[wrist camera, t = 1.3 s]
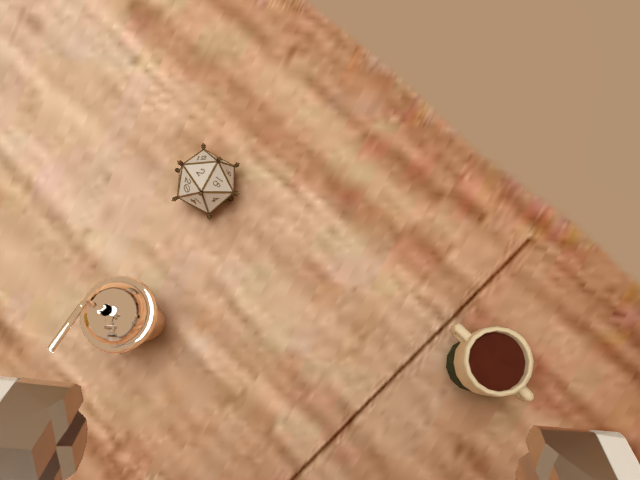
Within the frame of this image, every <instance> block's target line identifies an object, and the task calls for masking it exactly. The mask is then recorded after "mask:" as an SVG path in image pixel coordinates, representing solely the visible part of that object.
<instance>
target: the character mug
mask: <svg viewBox="0 0 640 480" xmlns="http://www.w3.org/2000/svg"><path fill="white" fill-rule="evenodd" d="M450 331H451V333H452V335H453V336H454V337H455V338H456V339H457V340H458V341H460V342H458V343H457V344H455V345H453V347H452V349H451V350H450V352H449V354H448V355H447V366H446V368H447V370H448V373H449V376H450V379H451V380H452V381H453V382H454V383H455V384H456V385H457V386H459V387H460V388H463V389H466V390H469V391H472V392H474V393H476V394H480V395H485V396H493V397H503V396H508V395H513V394H514V395H515V396H516V397H517V398H518V399H520V400H522V401H532V400H533V398H534V395H533V393H532V392H531V391H530V390H529V389H528V388H527V387H526V384H527V383H528V381H529V379H530V377H531V376H532V370H533V363H534V361H533V356H532V351H531V348H530V347H529V345H528V343H527V341H526V340H525V339H524V338H523V337H522V336H521V335H520V334H519V333H517V332H515V331H513V330H511V329H509V328H503V327H497V326H494V327H486V328H483V329H480V330H477V331H475V332H473V333H470V332H469V331H468V330H467V329H466V328H465V327H464V326H463V325H461V324H455V325H453V326H451V328H450Z"/></svg>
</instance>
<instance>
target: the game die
mask: <svg viewBox="0 0 640 480" xmlns="http://www.w3.org/2000/svg"><path fill="white" fill-rule="evenodd" d="M201 146H202V147H201V148H202V150H201V151H200V152H199V153H197V154H196V155H194V156H193V157H192V158H190V159H189V160H187V161H186V162H185V163H183V162H182V161H177V162H178V164H179V165H180V166H181V169H178V168H176V169H175V171H176V172H177V173H178V172H179V182H178V193H177V196H176V197H173V199H172V201H176V200H177V199H181V200H183V201H185V202H186V203H188V204H190V205H192V206H194V207H196V208H198V209H200V210H202V211H204V212H205V213H207V214H208V216H207V218H208V219H209V221H210V219H211V218H212V217H211V214H210V213H212V212H213V211H214V210H215V209H216V208H217V207H219V206H220V205H221V204H222V203H223V202H224V201H226V200H227V199H228V200H229V201H233V198H232V197H230V196H231V195H232V194H234V195H236V196H237V195H240V194H239V193H238V191H234V171H235V167H239V164H240V163H236V164H234V165H232V164H230V163H228V162H227V161H225V160H223V159H221V157H218V156H216V155H214V154H212V153H210V152H209V151H207V150H205V148H206V147H205V146H206V145H205V144H204V143H203V144H202V145H201Z"/></svg>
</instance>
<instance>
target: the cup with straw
mask: <svg viewBox="0 0 640 480" xmlns="http://www.w3.org/2000/svg"><path fill="white" fill-rule="evenodd" d="M79 316H80V325H81V329H82V331H83V334H84V336H85V337H86V338H87V340H88V341H89V342H90V343H91V344H92V345H94V346H95V347H96V348H98V349H100V350H102V351H105V352H108V353H123V352H127V351H130V350H132V349H134V348H136V347H138V346H139V345H140V344H142V343H143V342H144V341H149V340H152V339H154V338H156V337H157V336H158V335H159V334H160V333H161V332H162V330H163V327H164V316H163V314H162V312H161V311H160V310H159V309H158V308H157V305H156V301H155V298H154V296H153V294H152V292H151V291H150V289H149V288H148V287H147V286H146V285H145V284H144V283H142V282H141V281H139V280H137V279H135V278H131V277H125V276H118V277H111V278H108V279H105V280H103V281H101V282H99V283H98V284H96V285H95V286H94V287H93V288H92V289H91V290H90V291H89V292H88V293H87V295H86V296H85V298H84V300H83V301H82V302H80V303H79V304H78V305H77V307H76V308H75V310H74V311H73V312H72V314H71V315H70V317H69V318H68V319H67V321H66V322H65V324H64V325H63V326H62V328H61V329H60V330H59V332H58V333H57V335H56V336H55V337H54V339H53V340H52V342H51V343H50V344H49V346H48V347H47V349H48V350H50V351H51V352H54V351H55V349H56V348H57V346H58V345H59V344H60V342H61V341H62V339H63V338H64V337H65V335H66V334H67V332H68V331H69V330H70V328H71V327H72V325H73V324H74V323H75V321H76V320H77V318H78V317H79Z"/></svg>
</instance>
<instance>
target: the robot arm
mask: <svg viewBox="0 0 640 480" xmlns="http://www.w3.org/2000/svg"><path fill="white" fill-rule="evenodd" d="M82 402H83V395H82V390H81V386H79V385H77V384H74V383H65V382H57V381H48V380H40V379H31V378H17V377H8V376H0V480H65V479H67V478H68V477H70V476H71V475H72V474H74V473H75V472H76V471H77V469H78V467H79V464H80V462H81V460H82V458H83V454H84V451H85V447H86V443H87V430H88V429H87V421H86V418H85V417H84V416H83V415H82V414H81V413H80V412H79V411H78V409H79V408H80V406H81V404H82ZM526 444H527V447H528V450H529V453H527V454H526V455H524V456H523V457H522V458H520V459H519V463H518V467H517V470H516V479H515V480H640V464H639V462H638V461H637V459H636V457H635V455H634V453H633V451H632V450H631V448H630V446H629V444H628V442H627V441H626V439H625V437H624V436H623V435H622V434H620V433H619V432H610V431H598V430H589V431H588V430H582V429H570V428H558V427H546V426H533V427H532V428H531V429H530V430H529V433H528V436H527V439H526Z"/></svg>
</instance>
